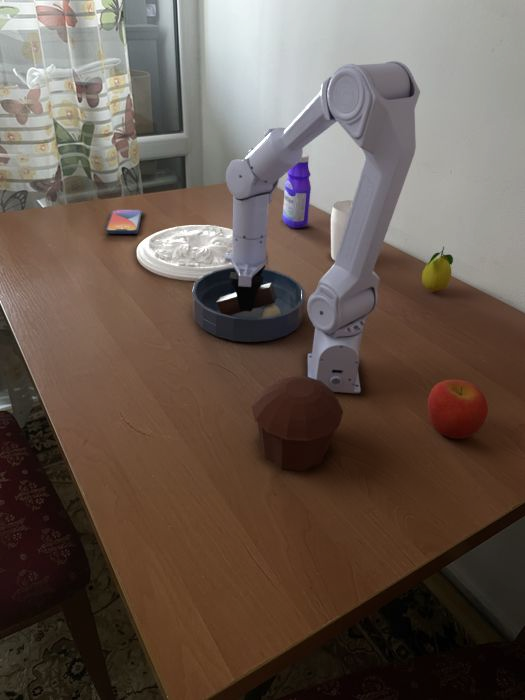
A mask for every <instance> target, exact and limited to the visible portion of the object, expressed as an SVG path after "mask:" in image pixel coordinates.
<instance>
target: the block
mask: <svg viewBox="0 0 525 700" xmlns="http://www.w3.org/2000/svg"><path fill="white" fill-rule="evenodd" d="M276 299H277V297H276V294H275V291H274V288H273V285H272V282H271V283H268V284H264V285H261V286H260V287H259V289H258V291H257V294H256V297H255V301H254V306H253V309H255V308H258V307H262V306H266V305H269V304H273V303H275V301H276ZM217 305H218V307H219V310H220V313H221V314H225V315H233V314H237V313H240V312H244V311H240V309H239V305H238V299H237V294H236V293H233V294H229V295H226V296H222V297H220V298H219V300H218V301H217Z"/></svg>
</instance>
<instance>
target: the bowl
mask: <svg viewBox="0 0 525 700" xmlns="http://www.w3.org/2000/svg"><path fill="white" fill-rule="evenodd" d="M231 272H236V270H235V268H234V267H232V268H225V269H221V270H216V271H213V272H211V273H209V274H206V275H204V276H202V277H201V278H200V279H199V280H198V281H194V283H193V287H192V289H191V312H192V316H193V319H194V322H195V323H196V324H197V325H198V326H199V327H200V328H201V329H202V330H203V331H205V332H206V333H210V334H211V335H212V336H215V337H216V338H217V337H218V338H221V339H225V340H229V341H233V342H242V343H243V342H244V343H245V342H246V343H258V342H268V341H269V342H270V341H273V340H276V339H280V338H283V337H286V336H287V335H289V334H291V333H292V332H294V331H296V330H297V329H298V328H299V326H300V325H301V323H302V322H303V319H304V309H305V300H306V295H305V294H306V292H305V289H304V288H303V286H302V285H301V284H300V282H298V281H297V280H296V279H294V278H293V277H291V276H290V275H288V274H286V273H282V272H280V271H278V270H272V269H269V268H264V270H263V271H262V273H261V275H260V276H264V279H263V282H262V284H261V285H264V284H268V283H271V282H272V285H273V288H274V291H275V294H276V297H277V299H276V301H275V303H273V304H272V305H275V306H277V307H278V308H279V309H280V312H281V314H279V315H275V316H272V317H263V318H262V317H261V312H262V309H263V308H264V307H265V306H262V307H258V308H255V309H252V311H251V312H250V311H244V312H240V313H237V314H233V315H225V314H221V313H220V310H219V307H218V305H217V301H218V300H219V298H220V297H222V296H226V295H229V294H233V293H236V291H235V288H234V286H233V285H232V283H231V281H230V274H231ZM269 305H270V304H269ZM266 306H267V305H266Z"/></svg>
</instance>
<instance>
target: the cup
mask: <svg viewBox="0 0 525 700" xmlns="http://www.w3.org/2000/svg"><path fill="white" fill-rule="evenodd" d="M352 202H353V200H350V199H349V200H347V199H346V200H338V201H335V202H334V203H333V205H332V210H331V215H330V257H331V259H332V260H333V261H335V259H336V256H337V253H338V249H339V246H340V243H341V239H342V236H343V233H344V229H345V226H346V222H347V219H348V216H349V212H350V209H351V206H352Z"/></svg>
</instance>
